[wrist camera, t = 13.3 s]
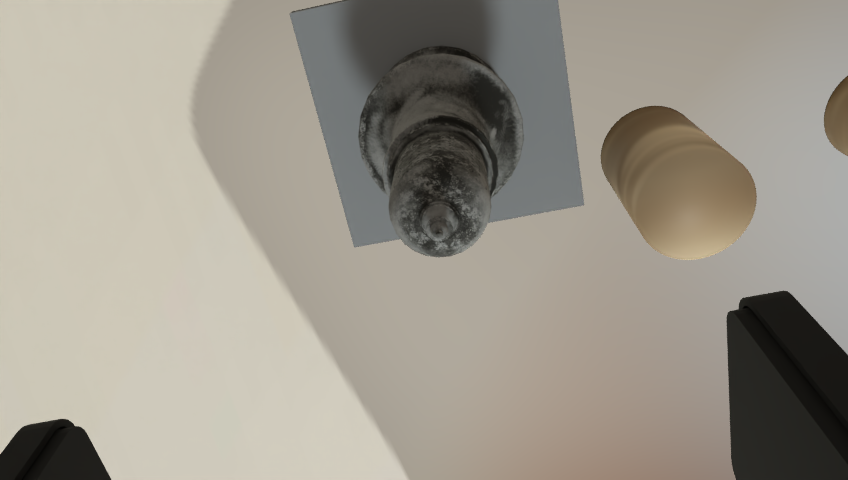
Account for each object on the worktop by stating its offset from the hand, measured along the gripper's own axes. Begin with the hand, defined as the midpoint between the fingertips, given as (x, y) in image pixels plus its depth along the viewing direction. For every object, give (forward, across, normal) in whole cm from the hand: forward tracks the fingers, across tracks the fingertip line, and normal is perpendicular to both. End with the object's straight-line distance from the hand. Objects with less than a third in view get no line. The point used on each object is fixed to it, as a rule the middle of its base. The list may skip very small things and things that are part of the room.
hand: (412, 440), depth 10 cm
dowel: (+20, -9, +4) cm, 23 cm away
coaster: (+20, -1, +1) cm, 21 cm away
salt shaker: (+20, -1, +1) cm, 20 cm away
